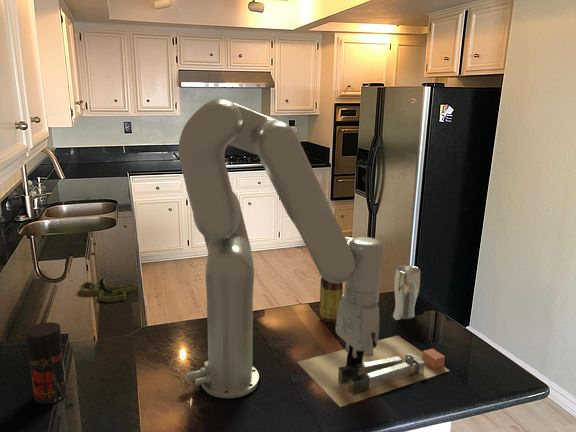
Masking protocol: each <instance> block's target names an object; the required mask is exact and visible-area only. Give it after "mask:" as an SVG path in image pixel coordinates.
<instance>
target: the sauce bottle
mask: <svg viewBox="0 0 576 432" xmlns="http://www.w3.org/2000/svg"><path fill="white" fill-rule="evenodd" d="M343 283H344V282H342V283H331V282H328V281H326V280H325V279H324V278H323V277H322V276H321V278H320V287H319V288H320V291H319V292H320V293H319V318H320V320H321V321H323V323H333V324H334V323H335V324H336V321H337V314H338V308H339V304H340V300H341V297H342V295H343V294H344V286H343Z"/></svg>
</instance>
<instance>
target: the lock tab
mask: <svg viewBox="0 0 576 432" xmlns="http://www.w3.org/2000/svg"><path fill="white" fill-rule="evenodd" d="M422 352H423V355H422V361H424V362H425V363H426V364H427V365H429V366H430V367H432V368H433V369H437V368H440V367H443V366H444V367H445V361H446V360H445V359H446V356H445V355H444V354H442V353H440V352H439V351H437V350H436V349H434V348H430V349H425V350H422Z"/></svg>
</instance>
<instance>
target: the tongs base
mask: <svg viewBox="0 0 576 432" xmlns="http://www.w3.org/2000/svg"><path fill="white" fill-rule="evenodd" d="M424 366H425V362H424V361H422V360H421V359H420V358H418V357H417V356H415V355H414V354H412V353H411V352H410V353H407V354H406V356H405V362H404V363H401V364H398V365H394V366H391V367H388V368H384V369H381V370H378V371H374V372H371V373H368V374H362V375H359V376H356V377H352V378H350V380H349V392H350V393H351V394H352V395H353V396H354V395H357V394H360V393H363V392H366V391H369V390H372V389H375V388H378V387H381V386H384V385H387V384H390V383H394V382H397V381H400V380H403V379H406V378H409V374H412V373H415V374H417V375H418V376H419V375H423V374H424Z"/></svg>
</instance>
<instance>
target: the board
mask: <svg viewBox="0 0 576 432" xmlns="http://www.w3.org/2000/svg"><path fill="white" fill-rule="evenodd" d="M410 352H411V353H412V354H414V355H415V356H417V357H418V358H420V359H421V360H422V355H423V350H420V349H418V348H417V347H416V346H414V345H412V344H411V343H410V342H408V341H407V340H405V339H404V338H402V337H401V336H400V335H394V336H390V337H387V338H382V339H378V343H377V346H376V348H373V356H371V357H366V356H363V360H362V363H366V362H371V361H376V360H381V359H387V358H392V357H397V356H399V357H400V358H401V359H402V363H404V362H405V356H406V354H407V353H410ZM347 354H348V353H347V351H346V348H344V349H341V350H337V351H334V352H330V353H326V354H322V355H319V356H314V357H310V358H308V359H307V358H306V359H303V360H299V361H297V362H296V363H297V364H298V365H299V366H300V367H301V368H302V369H303V370H304V371H305V372H306V373H307V375H308V376H310V377H311V379H312V380H313V381H314V382H315V383H316V384H317V385H318V386H319V387H320V388H321V389H322V390H323V391H324V392H325V393H326V394H327V395H328V396H329V398H330V399H332V401H333V402H335V404H336V405H338V407H339V408H342V407H345V406H348V405H351V404H354V403H357V402H360V401H362V400H365V399H366V400H367V399H368V398H372V397H374V396H379V395H381V394H384V393H387V392H391V391H393V390H396V389H399V388H402V387H406V386H408V385H411V384H412V385H413V384H415V383H419V382H420V381H424V380H426V379H427V380H428V379H430V378H433V377H436V376H438V375H441V374H444V373H447V372H451V370H449V368H447V367H446V366H445V365H444V366H443V367H440V368H437V369H433V368H432V367H430V366H429V365H427V364H426V363H425V366H424V374H423V375H419V376H418V375H417V374H415V373H412V374H409V378H406V379H403V380H400V381H397V382H394V383H390V384H387V385H384V386H381V387H378V388H375V389H372V390H369V391H366V392H363V393H360V394H357V395H354V396H353V395H352V394H351V393H350V392H349V382H348V383H343V384H341V383H340V381H339V380H338V374H339V367H344V366H346V363H347Z"/></svg>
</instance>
